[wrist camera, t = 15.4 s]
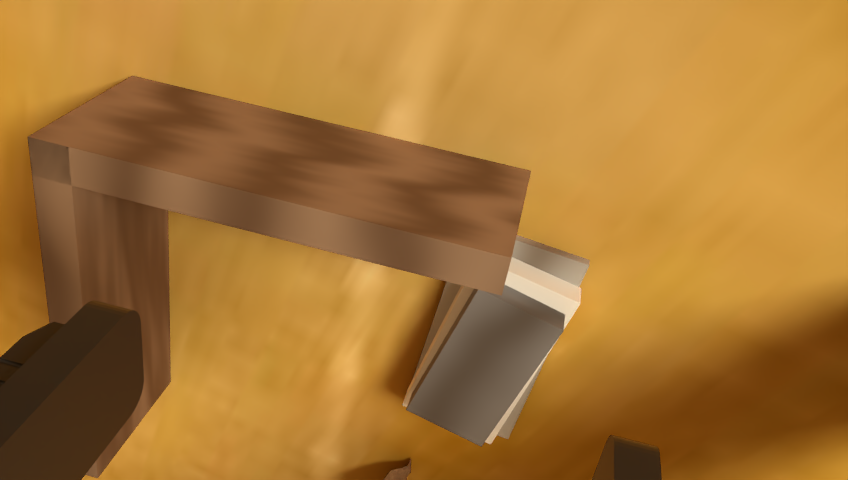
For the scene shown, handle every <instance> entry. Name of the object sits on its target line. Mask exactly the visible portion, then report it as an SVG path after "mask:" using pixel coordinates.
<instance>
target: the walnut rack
mask: <svg viewBox="0 0 848 480" xmlns="http://www.w3.org/2000/svg"><path fill="white" fill-rule="evenodd" d="M28 144H29V152H30V161H31V169H32V178H33V186H34V195H35V203H36V212H37V220H38V229H39V237H40V246H41V254H42V262H43V271H44V279H45V288H46V296H47V305H48V313H49V322H50V323H52V322H57V323H61V324H66V323H67V322H68V321H69V320H70V319H71V318H72V317H73V316H74V315H75V314H76V313H77V312H78V311H79V310H80V309H81V308H82V307H83V306H84V305H85V304H87V303H88V302H90V301H93V300H96V301H100V302H104V303H108V304H111V305H115V306H119V307H123V308H127V309H131V310H135V311H137V312H138V314H139V315H140V319H141V332H142V350H143V368H144V385H143V390H142V394H141V397H140V400H139V402H138V404H137V406H136V408H135V410H134V412H133V413H132V415H131V416H130V417H129V419H128V420H127V421H126V423H125V424H124V425H123V427H122V428H121V429H120V430H119V432H118V433H117V434H116V436H115V437H114V438H113V439H112V441H111V442H110V443H109V445H108V446H107V447H106V449H105V450H104V451H103V452H102V454H101V455H100V456H99V458H98V459H97V460H96V461H95V463H94V464H93V465H92V467H91V468H90V469H89V471H88V472H87V473H86V474H85V475H88V476H92V477H95V478H98V477H99V476H100V474H101V473H102V472H103V471H104V469H105V468H106V467H107V465H108V464H109V463H110V461H111V460H112V459H113V457H114V456H115V455H116V453H117V452H118V451H119V449H120V448H121V447H122V445H123V444H124V443H125V441H126V440H127V439H128V437H129V436H130V435H131V433H132V432H133V431H134V430H135V428H136V427H137V426H138V424H139V423H140V422H141V420H142V419H143V418H144V416H145V415H146V414H147V412H148V411H149V410H150V408H151V407H152V406H153V404H154V403H155V402H156V400H157V399H158V398H159V396H160V395H161V394H162V392H163V391H164V390H165V388H166V387H167V386H168V385H169V383H170V382H171V378H170V314H169V250H168V210H169V211H173V212H177V213H180V214H184V215H188V216H192V217H196V218H200V219H204V220H208V221H212V222H216V223H220V224H223V225H227V226H231V227H235V228H239V229H243V230H247V231H251V232H255V233H259V234H263V235H267V236H270V237H274V238H278V239H282V240H286V241H290V242H294V243H298V244H302V245H306V246H310V247H313V248H317V249H321V250H325V251H329V252H333V253H337V254H341V255H345V256H349V257H353V258H356V259H360V260H364V261H368V262H372V263H376V264H380V265H384V266H388V267H392V268H396V269H400V270H403V271H407V272H411V273H415V274H419V275H423V276H427V277H431V278H435V279H439V280H443V281H446V282H450V283H454V284H458V285H462V286H466V287H470V288H474V289H478V290H482V291H486V292H489V293H493V294H497V295H501V296H502V293H503V289H504V285H505V281H506V277H507V274H508V270H509V266H510V262H511V258H512V254H513V249H514V245H515V240H516V236H517V231H518V227H519V222H520V218H521V213H522V209H523V204H524V200H525V195H526V191H527V186H528V182H529V177H530V173H531V171H529V170H525V169H520V168H516V167H512V166H508V165H504V164H499V163H495V162H491V161H487V160H483V159H479V158H474V157H470V156H466V155H462V154H458V153H453V152H449V151H445V150H441V149H437V148H432V147H428V146H424V145H420V144H416V143H411V142H407V141H403V140H399V139H395V138H391V137H386V136H382V135H378V134H374V133H370V132H365V131H361V130H357V129H353V128H349V127H344V126H340V125H336V124H332V123H328V122H323V121H319V120H315V119H311V118H307V117H303V116H298V115H294V114H290V113H286V112H282V111H277V110H273V109H269V108H265V107H261V106H256V105H252V104H248V103H244V102H240V101H236V100H231V99H227V98H223V97H219V96H215V95H210V94H206V93H202V92H198V91H194V90H189V89H185V88H181V87H177V86H173V85H168V84H164V83H160V82H156V81H152V80H148V79H143V78H139V77H135V76H131V77H129V78H128V79H126V80H124V81H122V82H121V83H119V84H117V85H116V86H114V87H112V88H110V89H109V90H107V91H105V92H104V93H102V94H100V95H98V96H97V97H95V98H93V99H91V100H90V101H88V102H86V103H85V104H83V105H81V106H79V107H78V108H76V109H74V110H73V111H71V112H69V113H67V114H66V115H64V116H62V117H61V118H59V119H57V120H55V121H54V122H52V123H50V124H49V125H47V126H45V127H43V128H42V129H40V130H38V131H37V132H35V133H33V134H31V135H30V136H28Z"/></svg>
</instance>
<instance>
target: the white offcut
mask: <svg viewBox="0 0 848 480" xmlns="http://www.w3.org/2000/svg"><path fill="white" fill-rule="evenodd" d="M505 285H507V286H509V287H511V288H513V289H515V290H517V291H519V292H521V293H523V294H525V295H527V296H529V297H531V298H533V299H535V300H537V301H539V302H541V303H543V304H545V305H547V306H549V307H551V308H553V309H555V310H557V311H559V312H561V313H563V314H565V321H564V328H565V327H566V325H567V324H568V322H569V321H570V319H571V317H572V316H573V314H574V313H575V311H576V310H577V308H578V306H579V305H580V303H581V288H580V287H577V286H575V285H573V284H571V283H569V282H566V281H564V280H562V279H560V278H557V277H555V276H553V275H551V274H549V273H546V272H544V271H542V270H540V269H537V268H535V267H533V266H531V265H529V264H526V263H524V262H522V261H520V260H517V259H515V258H513V257H512V258H511V262H510V266H509V270H508V274H507V277H506V281H505ZM473 290H474V288H470V287H466V286H462V285H461V287H460V289H459V291H458V292H457V294H456V296H455V298H454V300H453V302H452V304H451V306H450V308H449V310H448V312H447V314H446V316H445V318H444V320H443V322H442V324H441V325H440V327H439V329H438V331H437V333H436V335H435V337H434V339H433V341H432V343H431V345H430V347H429V349H428V351H427V353H426V355H425V356H424V358H423V360H422V362H421V364H420V366H419V368H418V370H417V372H416V374H415V376H414V378H413V380H412V382H411V384H410V386H409V388H408V390H407V392H406V395H405V398H404V401H403V404H402V405H403V406H405V407H407V406H408V403H409V400H410V397H411V394H412V392H413V391H414V389H415V387H416V386H417V384H418V382H419V381H420V379H421V377H422V376H423V374H424V372H425V370H426V369H427V367H428V365H429V364H430V362H431V360H432V359H433V357H434V355H435V354H436V352H437V350H438V349H439V347H440V345H441V344H442V342H443V340H444V339H445V337H446V335H447V334H448V332H449V330H450V328H451V327H452V325H453V323H454V322H455V320H456V318H457V317H458V315H459V313H460V312H461V310H462V308H463V307H464V305H465V303H466V302H467V300H468V298H469V297H470V295H471V293H472V292H473ZM555 343H556V342H555ZM555 343H554V344H555ZM553 346H554V345H553ZM553 346H552V347H553ZM551 349H552V348H551ZM551 349H550V350H549V352H550V351H551ZM549 352H548V353H547V355H548V354H549ZM547 355H546V356H545V358H546V357H547ZM545 358H544V359H543V360H542V362H541V363H540V365H539V366H538V367H537V369H536V370H535V372H534V373H533V374H532V376H531V377H530V379H529V380H528V382H527V383H526V384H525V386H524V387H523V389H522V390H521V391H520V393H519V394H518V396H517V397H516V398H515V400H514V401H513V403H512V404H511V406H510V407H509V408H508V410H507V411H506V413H505V414H504V415H503V417H502V418H501V420H500V421H499V423H498V424H497V425H496V427H495V428H494V430H493V431H492V432H491V434H490V435H489V437H488V438H487V439H486V441H485V442H486V443H488V444H491V443H492V442H493V440H494V439H495V437H496V435H497V434H498V432H499V431H500V429H501V428H502V426H503V424H504V423H505V421H506V420H507V418H508V417H509V415H510V413H511V412H512V410H513V409H514V407H515V406H516V404H517V402H518V401H519V399H520V398H521V396H522V395H523V393H524V391H525V390H526V388H527V387H528V385H529V384H530V382H531V380H532V379H533V377H534V376H535V374H536V373H537V371H538V369H539V368H540V366H541V365H542V363H543V362H544V360H545Z"/></svg>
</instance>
